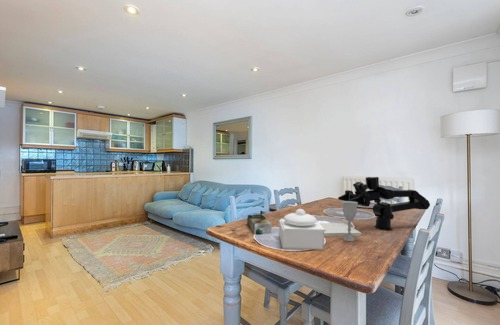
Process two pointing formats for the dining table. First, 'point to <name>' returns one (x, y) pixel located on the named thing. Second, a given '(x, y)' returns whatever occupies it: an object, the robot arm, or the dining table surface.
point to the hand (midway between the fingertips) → (342, 199)
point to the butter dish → (301, 231)
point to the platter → (338, 229)
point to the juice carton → (259, 224)
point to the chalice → (349, 216)
